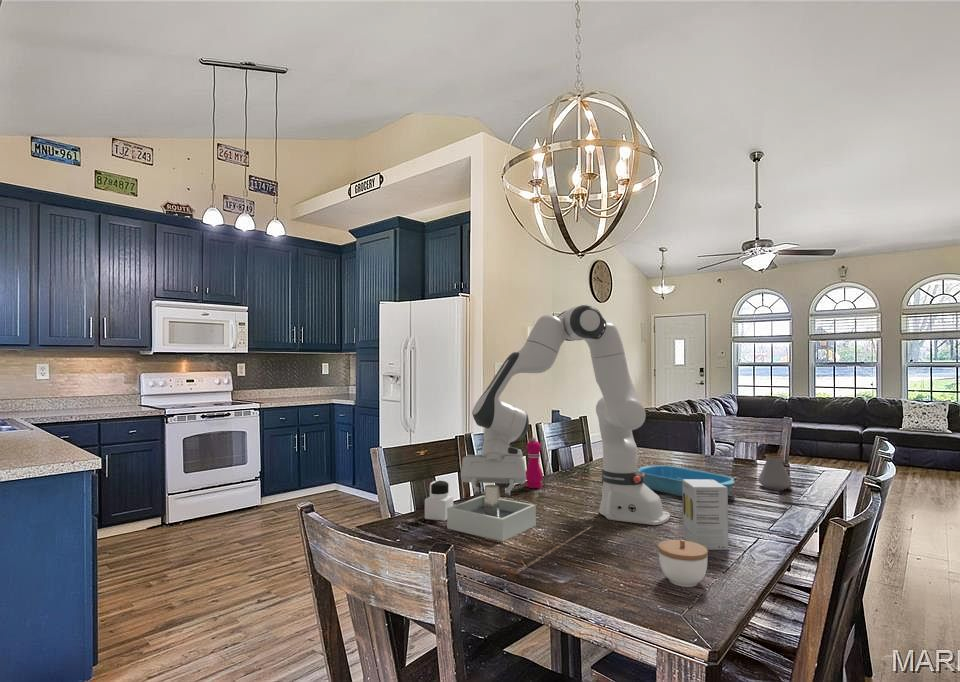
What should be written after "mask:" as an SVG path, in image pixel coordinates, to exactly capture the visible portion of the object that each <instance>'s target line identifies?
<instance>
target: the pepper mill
mask: <svg viewBox="0 0 960 682" xmlns="http://www.w3.org/2000/svg"><path fill="white" fill-rule="evenodd" d="M526 451H527V457H528V466H527V468H526V469H525V470H526V482H525V484H526V485H525V486H526V487H525V488H527V487H529V488H528V489H530V488H539V489H542V488H543V482H542V480H543V478H544V475H543V471H542V468H541V466H540V460H539V459H540V457H541V453H540V452H541V451H542V445H541V443H540V442H539V441H537V438H536V437H535V436H533V437H531V440H530V441H529V442H527V443H526ZM541 487H542V488H541Z"/></svg>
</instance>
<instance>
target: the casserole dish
mask: <svg viewBox="0 0 960 682" xmlns="http://www.w3.org/2000/svg"><path fill="white" fill-rule="evenodd" d="M637 470H638V471H639V472H640V473H641V474H645V475H644V476H645V477H643V483H644V484H645V485H646V486H647V487H649V488H650V489H651V490H652V491H656V492H661V493H665V494H669V495H674V496H678V497H681V498H683V490H682V480H683V479H710V480H715V481H717V482H718V483H720V484H722V485H724V486H726V487H727V488H728V494H730V492H731V490H732V486H733V485H735V484H736V482H735V481H734V480H735V479H734V477H731V476H728V475H724V474H720V473H719V474H718V473H715V472H714V473H713V472H708V471H702V470H697V469H692V468H691V469H690V468H687V467H680V466H674V465H667V464H666V465H665V464H664V465H645V466H641V467H639V469H637Z"/></svg>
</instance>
